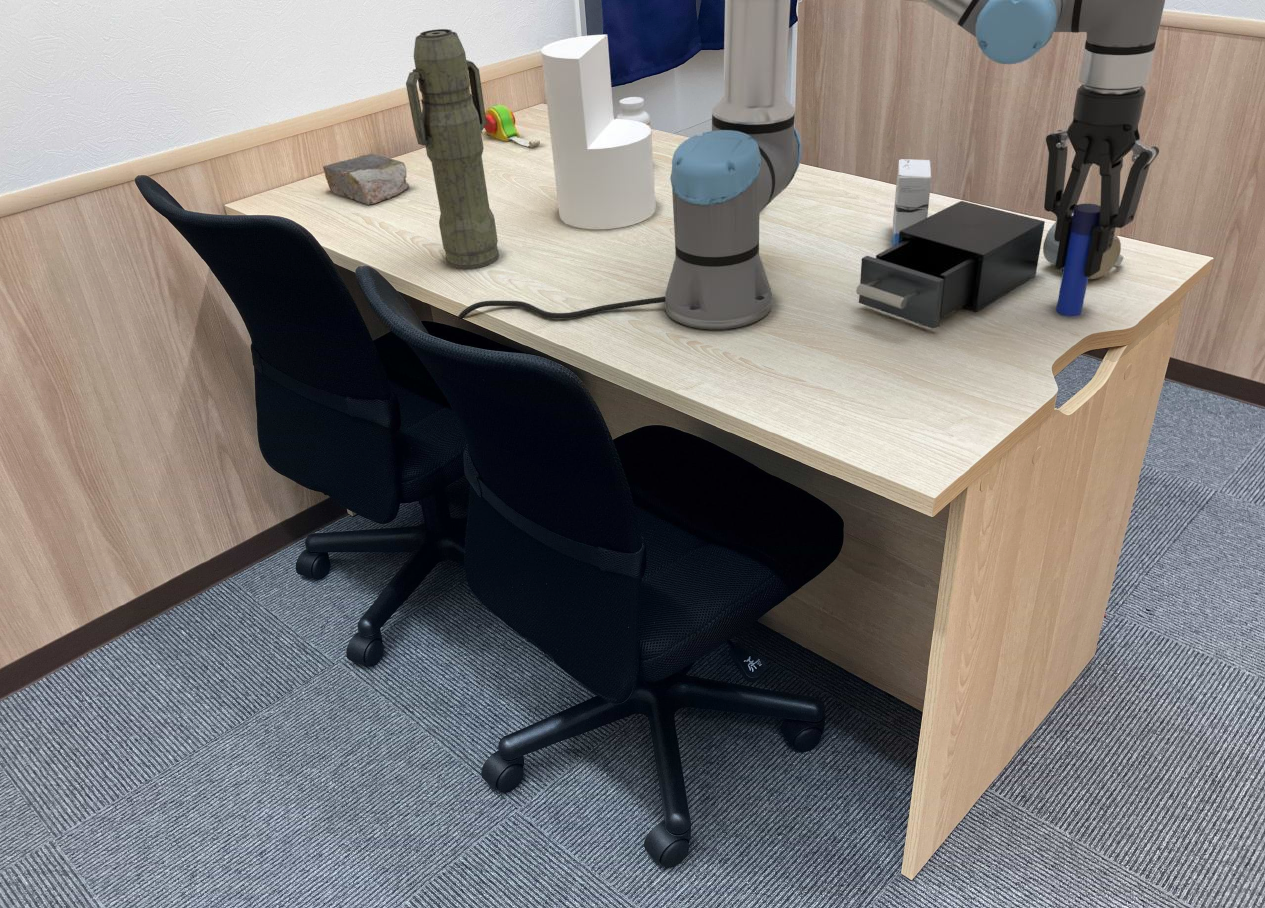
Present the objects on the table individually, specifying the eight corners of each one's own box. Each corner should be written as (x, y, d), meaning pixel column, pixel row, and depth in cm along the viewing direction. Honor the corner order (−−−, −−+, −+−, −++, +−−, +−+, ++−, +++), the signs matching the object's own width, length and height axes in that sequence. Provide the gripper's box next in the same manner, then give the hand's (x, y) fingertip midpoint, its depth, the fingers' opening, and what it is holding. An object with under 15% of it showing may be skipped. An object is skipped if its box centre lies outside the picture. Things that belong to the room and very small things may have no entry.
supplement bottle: (615, 164, 199) (610, 98, 192) (646, 159, 201) (642, 93, 193) (624, 174, 194) (620, 106, 187) (657, 168, 195) (653, 101, 188)
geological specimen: (367, 151, 201) (410, 160, 192) (373, 181, 204) (416, 191, 195) (320, 164, 195) (362, 174, 185) (328, 195, 198) (369, 206, 188)
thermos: (517, 252, 165) (486, 26, 145) (463, 276, 158) (422, 43, 138) (482, 241, 170) (448, 22, 151) (428, 264, 163) (384, 37, 144)
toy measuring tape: (498, 128, 227) (494, 98, 223) (548, 143, 214) (544, 112, 211) (474, 134, 224) (469, 104, 220) (524, 151, 211) (520, 119, 207)
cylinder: (546, 228, 173) (526, 59, 158) (574, 193, 187) (558, 35, 171) (643, 230, 169) (632, 57, 154) (664, 195, 183) (656, 33, 167)
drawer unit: (976, 312, 136) (984, 255, 132) (894, 286, 145) (899, 231, 140) (1035, 276, 144) (1045, 221, 140) (954, 253, 153) (961, 200, 148)
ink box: (925, 250, 154) (932, 176, 148) (892, 250, 155) (898, 176, 149) (923, 230, 161) (930, 157, 155) (891, 229, 162) (897, 158, 156)
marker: (1074, 319, 133) (1095, 214, 125) (1050, 311, 135) (1069, 208, 127) (1086, 310, 135) (1108, 207, 127) (1063, 303, 137) (1083, 201, 129)
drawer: (914, 340, 129) (919, 293, 125) (839, 313, 137) (841, 267, 133) (993, 293, 139) (1000, 247, 135) (919, 270, 147) (923, 226, 143)
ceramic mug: (1080, 287, 140) (1091, 235, 136) (1037, 267, 147) (1047, 217, 142) (1135, 271, 144) (1148, 220, 140) (1091, 252, 150) (1102, 203, 146)
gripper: (1197, 88, 115) (1152, 276, 128) (1063, 70, 126) (1034, 245, 139) (1167, 103, 111) (1124, 295, 124) (1031, 83, 122) (1005, 262, 135)
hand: (1077, 268), depth 131 cm, fingers closed on marker, 3 cm apart
